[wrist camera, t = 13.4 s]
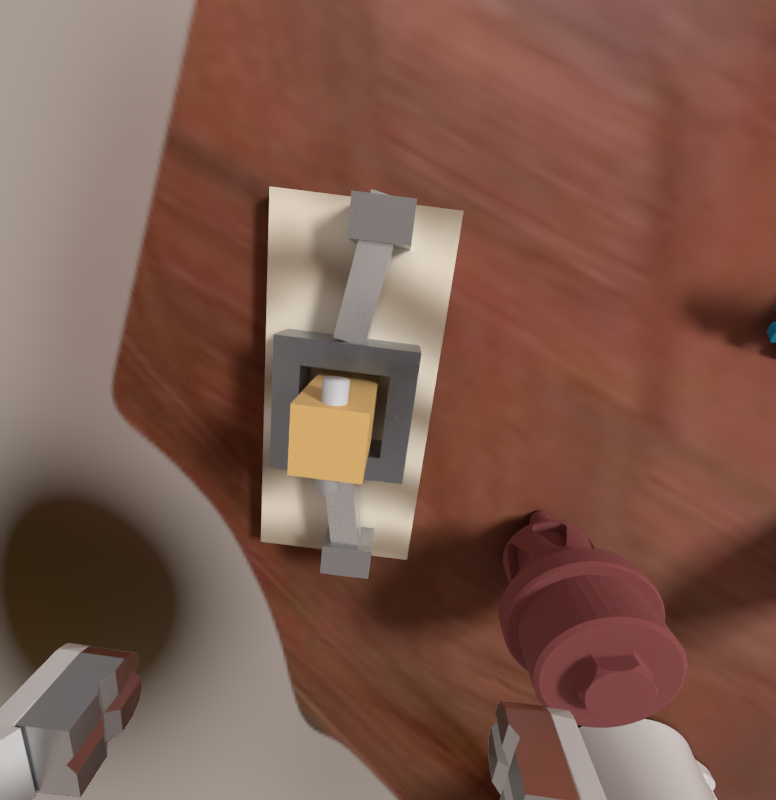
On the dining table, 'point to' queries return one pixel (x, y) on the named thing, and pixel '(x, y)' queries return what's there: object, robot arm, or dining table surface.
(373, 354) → the shaft assembly
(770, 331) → the blue toothed wheel
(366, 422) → the coupler
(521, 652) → the mechanical component
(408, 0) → the dining table surface
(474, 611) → the dining table surface
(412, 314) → the board
